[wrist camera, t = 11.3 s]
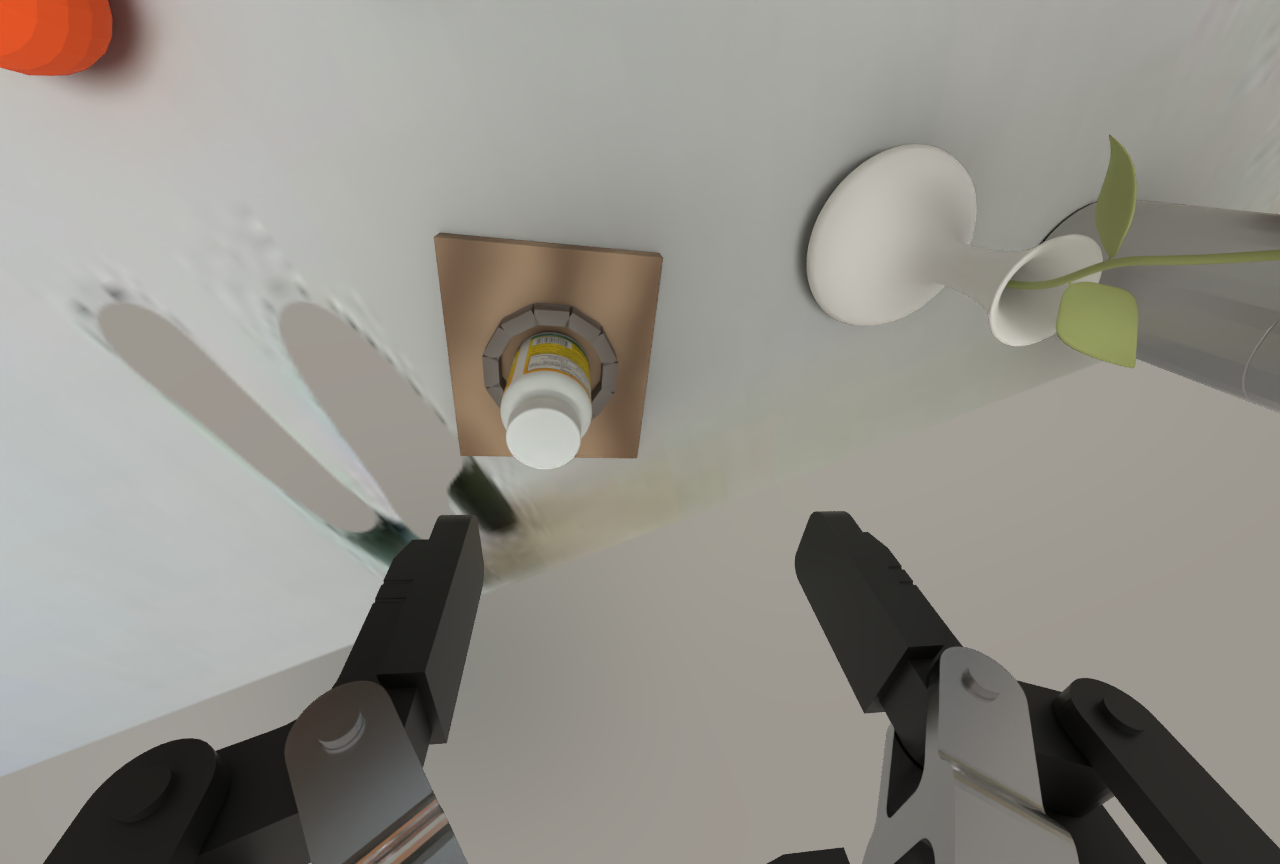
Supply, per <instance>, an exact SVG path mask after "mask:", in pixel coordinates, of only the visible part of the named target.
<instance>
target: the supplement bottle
mask: <svg viewBox="0 0 1280 864" xmlns="http://www.w3.org/2000/svg"><path fill="white" fill-rule="evenodd" d="M500 412H501V419H502V422H503V425H504V427H505V429H506V443H507V446H508V448H509V450H510V452H511V454H512V455H513V456H514V457H515V458H516V459H517V460H518V461H520V462H521V463H523V464H525V465H527V466H529V467H532V468H536V469H553V468H557V467H560V466H562V465H564V464H566V463H568V462H569V461H570V460H571V459H573V457H574V456H575V455H576V454H577V452H578V450H579V447H580V443H581V438H582V437H583V436H584V435H585V433H586V432H587V430H588V428H589V425H590V422H591V418H592V402H591V385H590V366H589V360H588V357H587V355H586V353H585V351H584V349H583V348H582V347H581V346H580V344H579V343H578V342H576V341H575V340H574V339H572V338H571V337H569V336H567V335H564V334H561V333H557V332H542V333H538V334H535V335H533V336H531V337H529V338H528V339H526V340H525V341H524V342H523V343H522V344H521V345H520V346H519V348H518V350H517V352H516V354H515V357H514V360H513V363H512V366H511V370H510V374H509V377H508V380H507V384H506V387H505V390H504V393H503V396H502V401H501V408H500Z"/></svg>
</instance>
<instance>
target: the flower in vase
mask: <svg viewBox="0 0 1280 864" xmlns="http://www.w3.org/2000/svg"><path fill="white" fill-rule="evenodd" d="M1109 139H1110V145H1111V157H1110V163H1109V167H1108V171H1107V174H1106V177H1105V180H1104V183H1103V186H1102V189H1101V192H1100V195H1099V198H1098V201H1097V205H1096V211H1095V221H1096V227H1097V230H1098V234H1099V237H1100V240H1101V242H1102V245H1103V247H1104V249H1105V251H1106V253H1107V254H1108V256H1109V259H1108V260H1107V261H1104V262H1103V257H1102V252H1101V249H1100V247H1099V246H1098V244H1097V243H1096V242H1095V241H1094V240H1093V239H1091V238H1090V237H1088V236H1084V235H1079V234H1071V235H1065V236H1059V237H1056V238H1053V239H1050V240H1048V241H1046V242H1043V243H1042V244H1040V245H1038V246H1036V247H1034V248H1032V249H1028V250H1022V251H998V250H989V249H984V248H979V247H974V246H971V245H970V243H971V240H972V237H973V233H974V229H975V224H976V216H977V201H976V193H975V189H974V186H973V183H972V180H971V178H970V176H969V174H968V173H967V171H966V170H965V169H964V167H963V166H962V165H961V164H960V163H959V162H958V161H957V160H956V159H955V158H953V157H952V156H951V155H950V154H949V153H947V152H945V151H944V150H942V149H940V148H937V147H934V146H931V145H924V144H908V145H902V146H897V147H894V148H891V149H888V150H885V151H883V152H881V153H879V154H877V155H875V156H873V157H871V158H870V159H868V160H867V161H865V162H864V163H862V164H861V165H859V166H858V167H857V168H856V169H855V170H853V171H852V172H851V173H850V174H849V175H848V176H847V177H846V178H845V179H844V180H843V181H842V182H841V183H840V184H839V185H838V187H837V188H836V189H835V190H834V192H833V193H832V194H831V196H830V197H829V199H828V200H827V202H826V203H825V205H824V206H823V208H822V210H821V212H820V214H819V216H818V218H817V220H816V223H815V225H814V228H813V230H812V234H811V237H810V241H809V246H808V252H807V277H808V281H809V286H810V289H811V291H812V294H813V296H814V298H815V300H816V301H817V303H818V304H819V306H820V307H821V308H822V309H823V310H824V311H825V312H826V313H827V314H828V315H829V316H831V317H833V318H834V319H836V320H838V321H841V322H843V323H846V324H851V325H860V326H868V325H880V324H885V323H890V322H893V321H896V320H899V319H901V318H903V317H905V316H907V315H909V314H911V313H913V312H915V311H916V310H918V309H919V308H921V307H922V306H924V305H925V304H926V303H927V302H929V301H930V300H931V299H932V298H933V297H935V296H936V295H937V294H938V293H939V292H940V291H941V290H942V289H943V288H944V286H948V287H951V288H953V289H955V290H957V291H959V292H962V293H963V294H965V295H967V296H968V297H970V298H972V299H973V300H975V301H976V302H977V303H978V304H980V305H981V306H982V307H983V308H984V309H985V311H986V312H987V314H988V320H989V326H990V329H991V331H992V333H993V335H994V336H995V337H996V338H997V339H998V340H999V341H1000V342H1002V343H1004V344H1006V345H1010V346H1026V345H1031V344H1034V343H1037V342H1040V341H1042V340H1045V339H1046V338H1048V337H1050V336H1052V335H1054V334H1055V333H1057V335H1058V336H1059V338H1060V339H1061V340H1062V341H1063V342H1064V343H1065V344H1067V345H1068V346H1070V347H1071V348H1073V349H1075V350H1077V351H1079V352H1081V353H1083V354H1086V355H1088V356H1091V357H1094V358H1096V359H1099V360H1102V361H1106V362H1109V363H1113V364H1116V365H1120V366H1124V367H1129V368H1134V367H1135V361H1136V348H1137V333H1138V307H1137V303H1136V300H1135V298H1134V296H1133V295H1132V294H1131V293H1130V292H1128V291H1126V290H1124V289H1121V288H1118V287H1114V286H1109V285H1104V284H1100V283H1099V280H1100V277H1101V273H1102V271H1103V270H1107V269H1111V268H1115V267H1123V266H1137V265H1200V264H1223V263H1243V262H1261V261H1277V260H1280V249H1278V250H1264V251H1250V252H1236V253H1219V254H1200V255H1171V256H1133V257H1123V258H1116V259H1111V258H1112V257H1114V256H1115V255H1116V254H1117V252H1118V250H1119V248H1120V246H1121V244H1122V242H1123V240H1124V238H1125V236H1126V234H1127V232H1128V229H1129V227H1130V225H1131V222H1132V219H1133V215H1134V211H1135V205H1136V195H1137V183H1136V174H1135V169H1134V165H1133V162H1132V160H1131V158H1130V156H1129V154H1128V153H1127V151H1126V150H1125V148H1124V147H1123V146H1122V145H1121V144H1120V143H1119V142H1118V141H1117V140H1116V139H1115V138H1113V137H1112V136H1111V135H1109ZM1110 259H1111V260H1110Z"/></svg>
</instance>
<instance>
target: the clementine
mask: <svg viewBox="0 0 1280 864" xmlns="http://www.w3.org/2000/svg"><path fill="white" fill-rule="evenodd" d="M111 38H112V14H111V10H110V6H109V1H108V0H0V67H1V68H4V69H8V70H12V71H15V72H19V73H23V74H27V75H46V76H55V75H70V74H73V73H76V72H79V71H82V70H85V69H87V68H89V67H90V66H91V65H93V64H94V63H95V62H96V61H97V60H98V59H99V58H100V57H102V56H103V55H104V54H105V53H106V51H107V49H108V46H109V43H110V41H111Z"/></svg>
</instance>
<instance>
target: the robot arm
mask: <svg viewBox="0 0 1280 864" xmlns="http://www.w3.org/2000/svg"><path fill="white" fill-rule="evenodd" d="M1096 205H1097V202H1096V203H1093V204H1090V205H1088V206H1087V207H1085V208H1083V209H1081V210H1079V211H1077V212H1076V213H1075V214H1073V215H1072V216H1070V217H1069V218H1068V219H1066V220H1065V221H1064V222H1063V223H1061V224H1060V225H1059V226H1058V227H1057V228H1056V229H1055V230H1054V231H1053V232H1052V233H1051V234H1050V235H1049V236H1048V238H1047V239H1046V240H1045V241H1044V242H1046V241H1048V240H1050V239H1053V238H1056V237H1059V236H1065V235H1071V234H1079V235H1084V236H1088V237H1090V238H1091V239H1093V240H1094V241H1095V242H1096V243H1097V244H1098V246H1099V247H1100V249H1101V252H1102V257H1103V262H1104V261H1107V260H1108V259H1109V256H1108V254H1107V253H1106V251H1105V249H1104V247H1103V245H1102V242H1101V240H1100V237H1099V234H1098V230H1097V227H1096V221H1095V211H1096ZM1278 249H1280V215H1279V214H1269V213H1260V212H1250V211H1240V210H1230V209H1220V208H1210V207H1200V206H1191V205H1183V204H1173V203H1163V202H1153V201H1143V200H1136V205H1135V211H1134V215H1133V219H1132V222H1131V225H1130V227H1129V229H1128V232H1127V234H1126V236H1125V238H1124V240H1123V242H1122V244H1121V246H1120V248H1119V250H1118V252H1117V254H1116V255H1115V256H1114V257H1112V258H1111V259H1116V258H1123V257H1133V256H1171V255H1200V254H1219V253H1236V252H1250V251H1264V250H1278ZM1111 259H1110V260H1111ZM1099 283H1100V284H1104V285H1109V286H1114V287H1118V288H1121V289H1124V290H1126V291H1128V292H1130V293H1131V294H1132V295H1133V296H1134V298H1135V300H1136V303H1137V307H1138V333H1137V348H1136V359H1138V360H1141V361H1144V362H1146V363H1149V364H1151V365H1154V366H1157V367H1159V368H1162V369H1165V370H1167V371H1170V372H1173V373H1175V374H1178V375H1181V376H1183V377H1185V378H1188V379H1191V380H1193V381H1196V382H1199V383H1201V384H1204V385H1207V386H1209V387H1212V388H1214V389H1217V390H1220V391H1222V392H1225V393H1227V394H1230V395H1233V396H1235V397H1238V398H1240V399H1243V400H1246V401H1248V402H1251V403H1254V404H1257V405H1260V406H1263V407H1265V408H1267V409H1270V410H1273V411H1275V412H1278V413H1280V260H1277V261H1261V262H1243V263H1223V264H1200V265H1137V266H1123V267H1115V268H1111V269H1107V270H1103V271H1102V273H1101V277H1100V280H1099ZM795 570H796V574H797V578H798V580H799V582H800V584H801V586H802V588H803V591H804V593H805V595H806V596H807V599H808V601H809V603H810V604H811V606H812V609H813V611H814V613H815V615H816V617H817V619H818V621H819V623H820V625H821V627H822V629H823V631H824V633H825V635H826V637H827V639H828V641H829V643H830V645H831V647H832V649H833V651H834V653H835V655H836V657H837V659H838V661H839V663H840V665H841V667H842V669H843V671H844V673H845V675H846V677H847V679H848V681H849V683H850V685H851V687H852V689H853V691H854V693H855V695H856V698H857V700H858V701H859V704H860V706H861V708H862V710H863V712H864V713H876V712H886V714H887V716H888V718H889V720H890V721H891V723H890V725H889V727H888V729H887V733H886V740H885V749H884V758H883V766H882V775H881V784H880V792H879V801H878V809H877V817H876V823H875V827H874V830H873V833H872V836H871V838H870V840H869V843H868V845H867V848H866V851H865V855H864V858H863V862H862V864H1146V863H1145V862H1144V860H1143V859H1142V858H1141V857H1140V855H1139V854H1138V852H1137V851H1136V850H1135V848H1134V847H1133V846H1132V844H1131V843H1130V842H1129V840H1128V839H1127V838H1126V836H1125V835H1124V834H1123V832H1122V831H1121V830H1120V828H1119V827H1118V825H1117V824H1116V823H1115V821H1114V820H1113V819H1112V817H1111V816H1110V815H1109V813H1108V812H1107V811H1106V809H1105V808H1104V807H1103V805H1102V804H1103V803H1105V802H1106V801H1108V800H1109V799H1111V798H1112V797H1114V796H1115V797H1116V798H1117V799H1118V800H1119V802H1120V803H1121V805H1122V806H1123V807H1124V808H1125V810H1126V811H1127V812H1128V814H1129V815H1130V816H1131V818H1132V819H1133V820H1134V821H1135V823H1136V824H1137V825H1138V826H1139V828H1140V829H1141V831H1142V832H1143V833H1144V834H1145V836H1146V837H1147V838H1148V840H1149V841H1150V842H1151V843H1152V845H1153V846H1154V847H1155V849H1156V850H1157V851H1158V853H1159V854H1160V855H1161V856H1162V858H1163V859H1164V860H1165V862H1166V863H1167V864H1280V848H1279V847H1278V846H1277V845H1276V844H1275V843H1274V842H1273V841H1272V840H1271V839H1270V838H1269V837H1268V836H1267V835H1266V834H1265V833H1264V832H1263V831H1262V829H1261V828H1260V827H1259V826H1258V825H1257V824H1256V823H1255V822H1254V821H1253V820H1252V819H1251V818H1250V817H1249V816H1248V815H1247V814H1246V813H1245V812H1244V810H1243V809H1242V808H1241V807H1240V806H1239V805H1238V804H1237V803H1236V802H1235V801H1234V800H1233V799H1232V798H1231V797H1230V796H1229V795H1228V794H1227V793H1226V792H1225V790H1224V789H1223V788H1222V787H1221V786H1220V785H1219V784H1218V783H1217V782H1216V781H1215V780H1214V779H1213V778H1212V777H1211V776H1210V775H1209V774H1208V772H1207V771H1205V769H1204V768H1203V767H1202V766H1201V765H1200V764H1199V763H1198V762H1197V761H1196V760H1195V759H1194V758H1193V757H1192V756H1191V755H1190V754H1189V752H1187V750H1186V749H1185V748H1184V747H1183V746H1182V745H1181V744H1180V743H1179V742H1178V741H1177V740H1176V739H1175V738H1174V737H1173V736H1172V735H1171V733H1170V732H1169V731H1168V730H1167V729H1166V728H1165V727H1164V726H1163V725H1162V724H1161V723H1160V722H1159V721H1158V720H1157V719H1156V718H1155V717H1154V716H1153V715H1152V714H1151V713H1150V712H1149V711H1148V710H1147V709H1146V708H1145V707H1144V706H1142V705H1141V704H1140V703H1139V702H1137V701H1136V700H1135V699H1133V698H1132V697H1131V696H1129V695H1127V694H1126V693H1124V692H1123V691H1121V690H1119V689H1117V688H1116V687H1114V686H1111V685H1109V684H1107V683H1104V682H1101V681H1099V680H1095V679H1090V678H1081V679H1077V680H1075V681H1074V682H1072V683H1071V684H1070V685H1069V686H1068V687H1067V688H1066V689H1065V690H1064V691H1063V692H1060V691H1056V690H1052V689H1048V688H1044V687H1040V686H1036V685H1032V684H1028V683H1025V682H1021V681H1017V680H1016V679H1015V678H1014V677H1013V676H1012V675H1011V674H1010V673H1009V672H1008V671H1007V670H1006V669H1005V668H1004V667H1003V666H1002V665H1000V664H999V663H998V662H996V661H995V660H993V659H992V658H990V657H988V656H987V655H985V654H983V653H981V652H979V651H976V650H974V649H970V648H967V647H963V646H962V645H961V644H960V643H959V641H958V640H957V639H956V637H955V636H954V635H953V634H952V632H951V631H950V630H949V628H948V627H947V625H946V624H945V623H944V621H943V620H942V619H941V618H940V616H939V615H938V614H937V612H936V611H935V610H934V608H933V607H932V606H931V604H930V603H929V602H928V600H927V599H926V598H925V596H924V595H923V594H922V592H921V591H920V590H919V588H918V587H917V586H916V585H913V581H912V579H911V578H910V577H909V575H908V574H907V573H906V571H905V570H902V569H901V565H900V564H899V562H898V561H897V559H896V558H895V557H894V555H893V554H892V553H891V551H890V550H889V549H888V548H887V547H886V546H885V545H883V544H882V543H881V542H880V541H878V540H877V539H876V538H875V537H873V536H872V535H871V534H870V533H868V532H862V530H861V529H860V528H859V526H858V525H857V524H856V522H855V521H854V519H853V518H852V517H851V515H850V514H848V513H847V512H844V511H833V512H832V511H831V512H830V511H828V512H813V513H812V514H811V516H810V518H809V520H808V523H807V526H806V528H805V531H804V534H803V536H802V539H801V542H800V544H799V547H798V550H797V553H796V556H795ZM483 577H484V562H483V555H482V548H481V541H480V535H479V528H478V521H477V517H476V516H475V515H441V516H439V517H438V519H437V521H436V523H435V526H434V528H433V531H432V533H431V536H430V538H429V540H412V541H411V542H410V543H409V544H408V545H407V546H406V547H405V548H404V549H403V550H402V551H401V552H400V553H399V554H398V555H397V556H396V557H395V558H394V559H393V561H392V563H391V565H390V568H389V570H388V572H387V574H386V576H385V578H384V584H383V585H381V587H380V589H379V592H378V594H377V596H376V598H375V603H373V605H372V607H371V609H370V611H369V613H368V615H367V618H366V620H365V622H364V624H363V626H362V628H361V631H360V633H359V635H358V637H357V639H356V641H355V644H354V646H353V648H352V650H351V652H350V655H349V657H348V659H347V661H346V663H345V666H344V668H343V670H342V672H341V674H340V676H339V678H338V680H337V682H336V683H335V684H334V686H333V687H332V689H331V690H329V691H327V692H326V693H324V694H323V695H321V696H320V697H318V698H317V699H316V700H315V701H313V702H312V703H311V704H310V705H309V706H308V707H307V708H306V709H305V710H304V711H303V713H302V714H301V715H300V716H299V717H298V718H297V719H296V720H294V721H293V722H291V723H289V724H287V725H285V726H282V727H280V728H278V729H275V730H272V731H270V732H267V733H264V734H261V735H259V736H256V737H253V738H250V739H248V740H245V741H242V742H240V743H237V744H234V745H231V746H228V747H225V748H223V749H220V750H217V751H215V750H214V749H213V748H212V747H211V746H210V745H209V744H208V743H207V742H204V741H202V740H199V739H193V738H191V739H179V740H174V741H170V742H167V743H164V744H161V745H159V746H157V747H154V748H152V749H150V750H148V751H147V752H144V753H143V754H141V755H139V756H138V757H136V758H134V759H133V760H131V761H130V762H128V763H127V764H125V765H124V766H123V767H121V769H119V770H118V771H116V772H115V773H114V774H113V775H112V776H111V777H109V778H108V779H107V780H106V781H105V782H104V783H103V784H102V785H101V786H100V787H99V788H98V789H97V790H96V791H95V793H93V795H92V796H91V797H90V798H89V800H88V801H87V802H86V804H85V805H84V806H83V808H82V809H81V810H80V812H79V813H78V815H77V816H76V818H75V819H74V820H73V822H72V823H71V825H70V826H69V828H68V829H67V830H66V832H65V833H64V835H63V836H62V838H61V839H60V840H59V842H58V843H57V845H56V846H55V848H54V849H53V850H52V852H51V853H50V855H49V856H48V857H47V859H46V860H45V862H44V863H43V864H308V863H312V864H468V863H467V860H466V858H465V856H464V854H463V852H462V850H461V847H460V845H459V843H458V841H457V839H456V837H455V834H454V832H453V830H452V828H451V826H450V824H449V822H448V819H447V817H446V815H445V813H444V811H443V810H442V808H441V806H440V805H439V803H438V801H437V798H436V797H435V794H434V792H433V790H432V788H431V786H430V784H429V781H428V779H427V777H426V775H425V773H424V770H423V765H424V761H425V758H426V753H427V750H428V746H429V744H442V743H447V739H448V735H449V731H450V726H451V722H452V717H453V713H454V708H455V704H456V700H457V696H458V691H459V687H460V682H461V678H462V674H463V669H464V665H465V661H466V656H467V652H468V647H469V643H470V639H471V634H472V630H473V625H474V621H475V617H476V613H477V608H478V604H479V600H480V595H481V591H482V586H483ZM767 864H850V863H849V861H848V858H847V855H846V853H845V850H844V848H835V849H827V850H818V851H809V852H801V853H792V854H785V855H782V856H780V857H778V858H777V859H775V860H773V861H771V862H769V863H767Z"/></svg>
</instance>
